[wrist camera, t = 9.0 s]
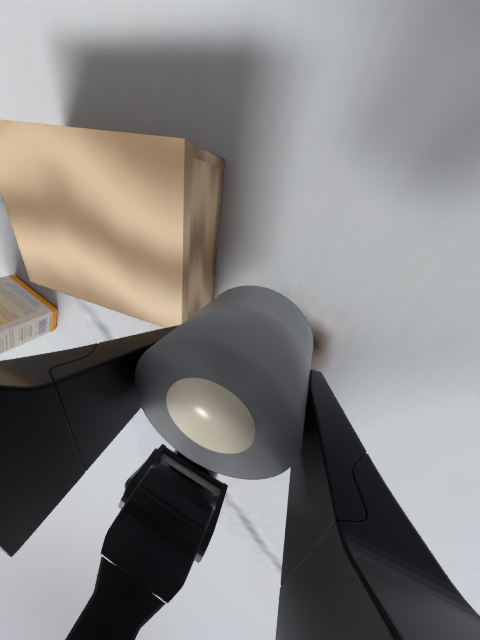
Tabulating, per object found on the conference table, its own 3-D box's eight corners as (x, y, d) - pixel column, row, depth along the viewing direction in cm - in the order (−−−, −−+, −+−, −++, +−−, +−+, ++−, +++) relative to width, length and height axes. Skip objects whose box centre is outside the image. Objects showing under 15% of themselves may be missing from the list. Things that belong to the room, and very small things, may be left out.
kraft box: (211, 305, 22) (183, 327, 18) (88, 268, 26) (41, 280, 22) (224, 159, 16) (187, 141, 12) (63, 140, 20) (-7, 121, 16)
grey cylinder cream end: (294, 400, 11) (274, 505, 7) (200, 364, 12) (139, 436, 8) (331, 305, 8) (333, 386, 4) (208, 271, 10) (125, 312, 6)
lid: (187, 328, 18) (181, 333, 17) (39, 279, 22) (30, 281, 21) (192, 142, 12) (184, 138, 11) (-10, 121, 16) (-25, 117, 15)
